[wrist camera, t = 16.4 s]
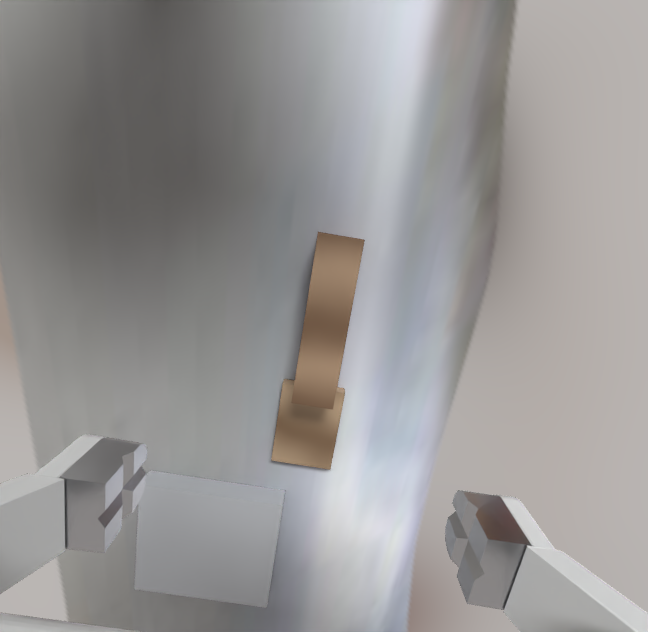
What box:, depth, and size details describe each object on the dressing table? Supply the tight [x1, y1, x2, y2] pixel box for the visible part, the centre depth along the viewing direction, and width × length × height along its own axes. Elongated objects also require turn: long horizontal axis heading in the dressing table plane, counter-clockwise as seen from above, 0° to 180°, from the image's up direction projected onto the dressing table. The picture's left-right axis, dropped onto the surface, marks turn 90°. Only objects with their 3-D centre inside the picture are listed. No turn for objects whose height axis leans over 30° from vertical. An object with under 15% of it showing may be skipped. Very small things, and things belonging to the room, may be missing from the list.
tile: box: [134, 470, 285, 608], centre depth 32 cm, size 2×12×11 cm
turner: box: [271, 232, 364, 469], centre depth 27 cm, size 19×5×4 cm, turn 171°
